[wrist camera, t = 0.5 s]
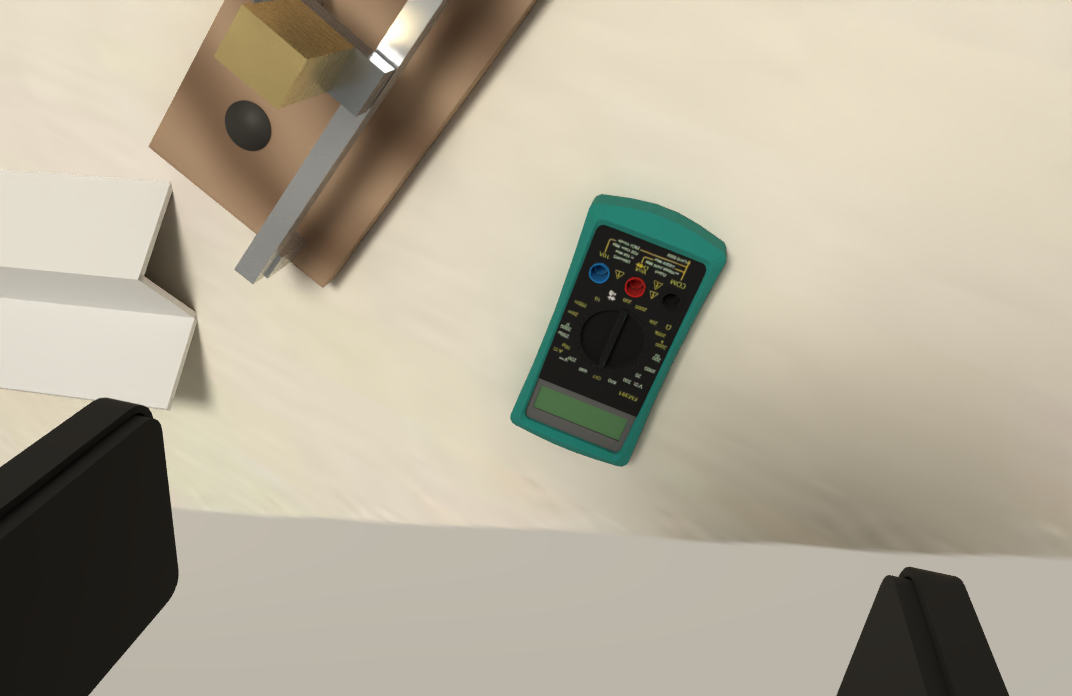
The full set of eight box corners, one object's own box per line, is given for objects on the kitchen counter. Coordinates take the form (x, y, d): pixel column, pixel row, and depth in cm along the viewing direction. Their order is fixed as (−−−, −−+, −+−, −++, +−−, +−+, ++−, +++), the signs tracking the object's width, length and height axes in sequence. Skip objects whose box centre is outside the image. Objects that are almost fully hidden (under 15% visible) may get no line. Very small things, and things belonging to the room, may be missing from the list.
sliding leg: (319, -31, 37) (208, -25, 30) (421, 59, 38) (341, 88, 30) (294, 13, 39) (181, 29, 31) (394, 99, 39) (310, 137, 31)
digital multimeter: (733, 231, 42) (734, 250, 39) (628, 450, 49) (622, 478, 46) (601, 179, 42) (593, 194, 39) (515, 404, 49) (503, 429, 46)
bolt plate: (366, -239, 36) (294, -277, 30) (573, -48, 37) (543, -48, 31) (165, 141, 46) (80, 169, 40) (333, 278, 47) (277, 325, 41)
